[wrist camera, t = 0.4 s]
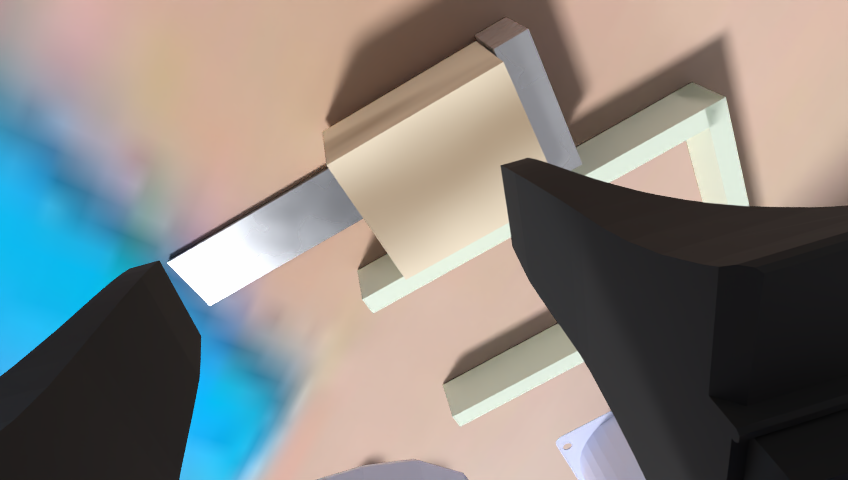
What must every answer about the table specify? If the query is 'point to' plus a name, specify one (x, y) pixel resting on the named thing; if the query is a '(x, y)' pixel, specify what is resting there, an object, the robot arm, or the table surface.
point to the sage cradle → (603, 160)
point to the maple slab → (434, 157)
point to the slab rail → (329, 204)
